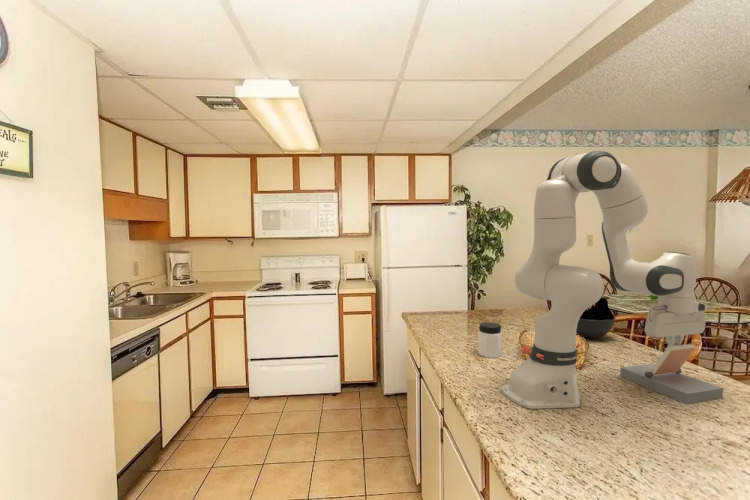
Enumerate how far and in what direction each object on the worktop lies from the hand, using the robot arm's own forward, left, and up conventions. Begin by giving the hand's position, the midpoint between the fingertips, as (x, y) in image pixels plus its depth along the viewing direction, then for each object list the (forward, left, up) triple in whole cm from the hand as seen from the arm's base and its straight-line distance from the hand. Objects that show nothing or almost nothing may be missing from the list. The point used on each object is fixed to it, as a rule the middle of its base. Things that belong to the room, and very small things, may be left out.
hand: (673, 349), depth 115 cm
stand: (0, +1, -12) cm, 12 cm away
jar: (-37, +43, -13) cm, 58 cm away
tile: (0, +1, -3) cm, 3 cm away
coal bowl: (+20, +52, -13) cm, 57 cm away
